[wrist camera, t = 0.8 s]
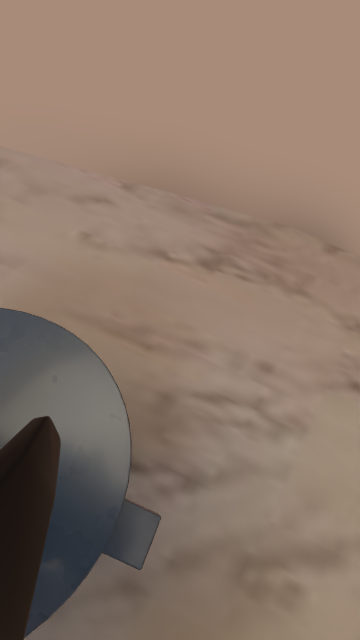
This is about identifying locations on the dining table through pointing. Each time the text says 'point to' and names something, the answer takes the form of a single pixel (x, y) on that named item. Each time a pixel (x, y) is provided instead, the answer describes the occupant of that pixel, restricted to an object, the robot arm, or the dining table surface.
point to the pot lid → (66, 445)
